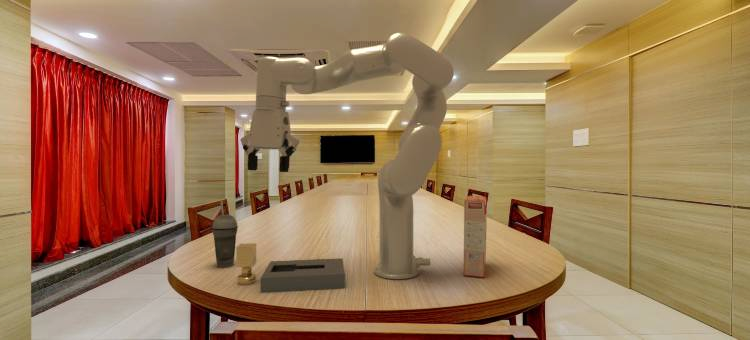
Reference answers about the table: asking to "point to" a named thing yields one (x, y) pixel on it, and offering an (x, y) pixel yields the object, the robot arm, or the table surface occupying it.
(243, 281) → the brass peg
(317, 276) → the keyhole plate
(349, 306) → the table surface
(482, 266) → the cracker box
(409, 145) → the robot arm
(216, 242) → the beverage cup
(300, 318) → the table surface
